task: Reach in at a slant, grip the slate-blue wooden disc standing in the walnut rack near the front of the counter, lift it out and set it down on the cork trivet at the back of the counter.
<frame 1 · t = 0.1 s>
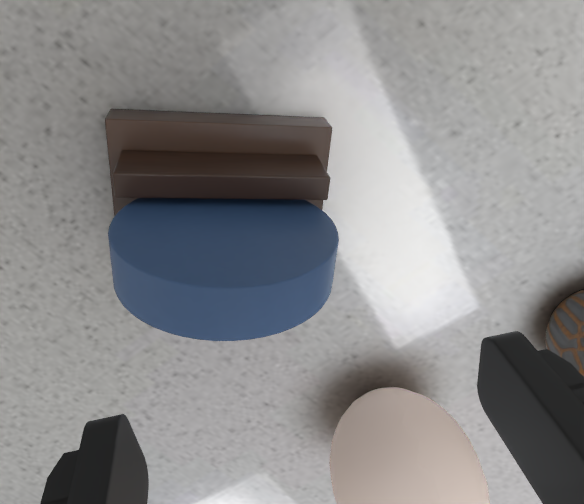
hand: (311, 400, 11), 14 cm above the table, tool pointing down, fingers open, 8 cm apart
egg: (374, 399, 32), on the table
vase: (577, 313, 31), on the table
rack: (220, 189, 23), on the table
disc: (226, 249, 19), point 5 cm above the table, touching rack
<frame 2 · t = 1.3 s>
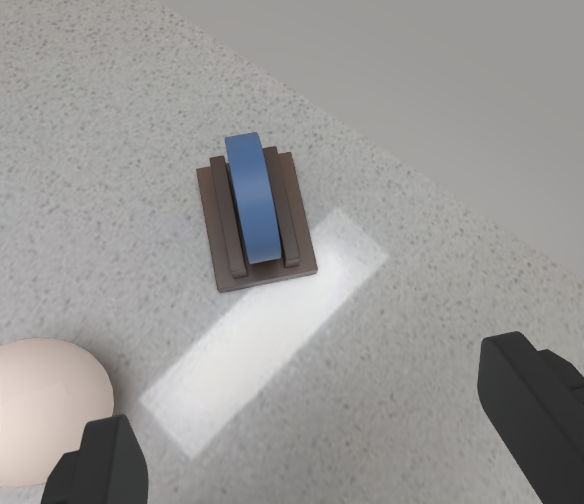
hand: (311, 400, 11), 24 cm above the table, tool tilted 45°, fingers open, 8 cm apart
egg: (74, 404, 34), on the table
rack: (256, 224, 37), on the table
disc: (253, 198, 32), point 5 cm above the table, touching rack
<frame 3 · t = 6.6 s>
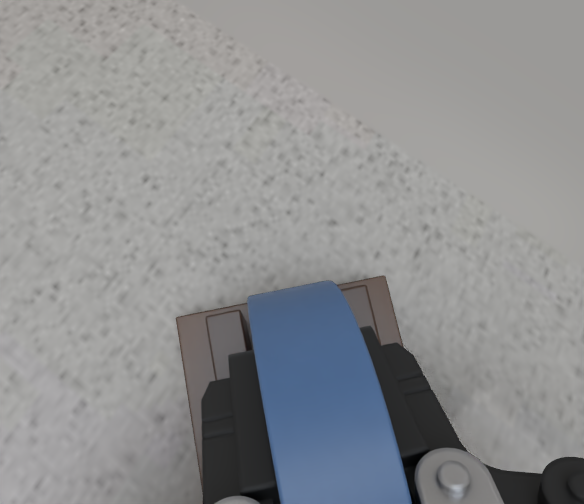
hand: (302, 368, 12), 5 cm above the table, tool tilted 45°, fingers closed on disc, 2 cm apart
rack: (308, 433, 17), on the table
disc: (322, 458, 12), point 6 cm above the table, touching gripper, rack
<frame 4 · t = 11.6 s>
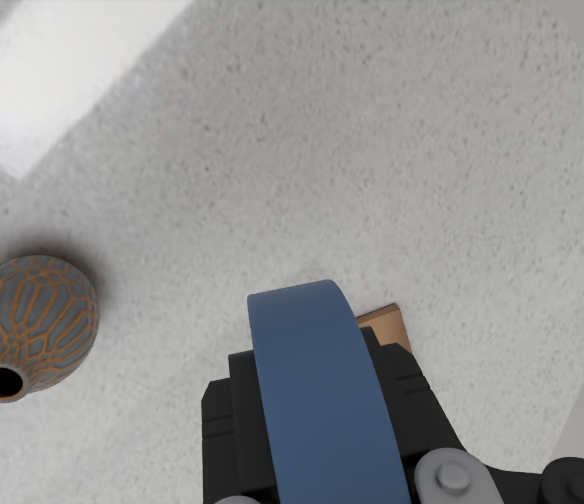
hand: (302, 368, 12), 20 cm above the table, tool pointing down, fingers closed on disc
trivet: (344, 384, 39), on the table
vase: (49, 287, 31), on the table
disc: (322, 457, 12), point 21 cm above the table, tilted 41°, touching gripper
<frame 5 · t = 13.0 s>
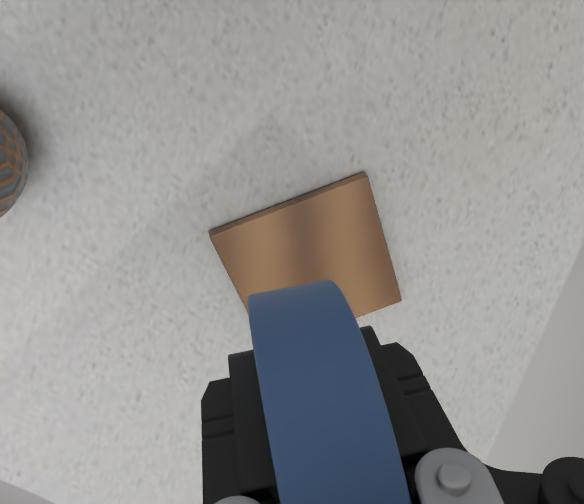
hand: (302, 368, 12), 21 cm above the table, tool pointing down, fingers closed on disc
trivet: (310, 265, 36), on the table
disc: (322, 457, 12), point 23 cm above the table, tilted 45°, touching gripper
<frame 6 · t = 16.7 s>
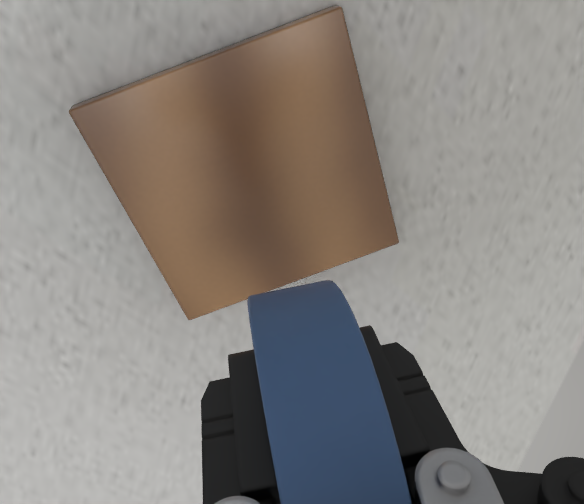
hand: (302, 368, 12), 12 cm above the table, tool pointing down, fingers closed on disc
trivet: (252, 178, 23), on the table
disc: (322, 458, 12), point 14 cm above the table, tilted 45°, touching gripper
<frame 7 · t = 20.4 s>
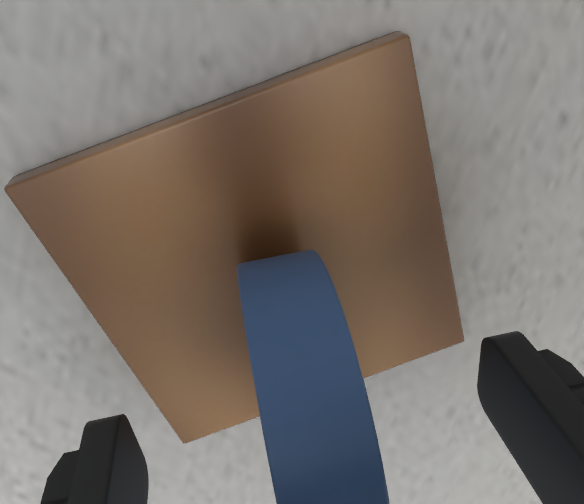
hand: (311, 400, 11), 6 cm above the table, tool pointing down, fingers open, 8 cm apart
trivet: (271, 265, 16), on the table
disc: (304, 409, 13), point 5 cm above the table, tilted 45°, touching trivet
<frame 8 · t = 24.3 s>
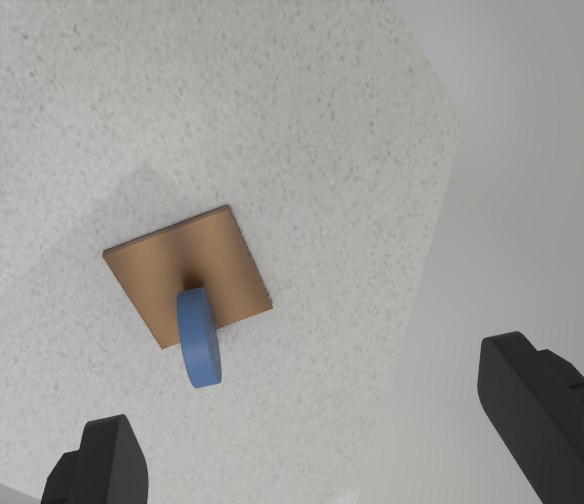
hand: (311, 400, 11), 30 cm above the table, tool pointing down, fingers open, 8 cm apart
trivet: (192, 279, 44), on the table
disc: (200, 336, 42), point 5 cm above the table, tilted 28°, touching trivet
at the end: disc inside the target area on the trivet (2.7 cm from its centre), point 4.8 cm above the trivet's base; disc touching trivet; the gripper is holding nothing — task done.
